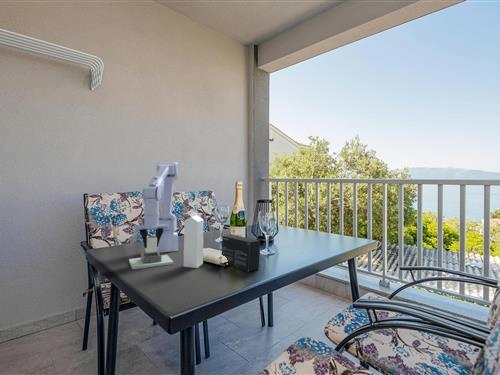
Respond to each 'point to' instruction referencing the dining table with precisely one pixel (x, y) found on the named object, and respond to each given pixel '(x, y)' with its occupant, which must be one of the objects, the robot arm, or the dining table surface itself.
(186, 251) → the milk
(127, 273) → the dining table surface
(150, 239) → the plug
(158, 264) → the board
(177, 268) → the dining table surface
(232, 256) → the box
